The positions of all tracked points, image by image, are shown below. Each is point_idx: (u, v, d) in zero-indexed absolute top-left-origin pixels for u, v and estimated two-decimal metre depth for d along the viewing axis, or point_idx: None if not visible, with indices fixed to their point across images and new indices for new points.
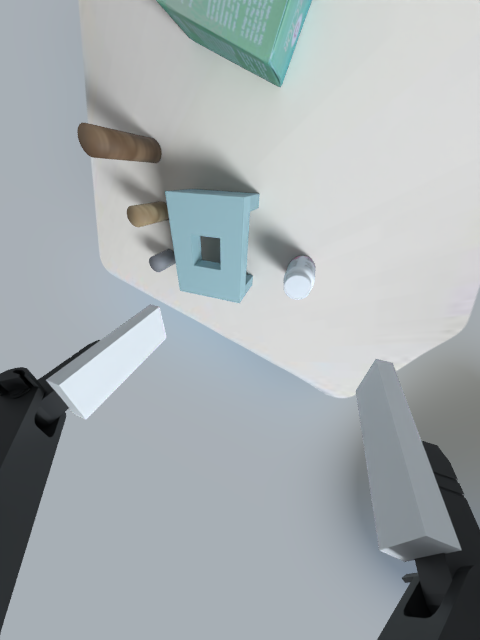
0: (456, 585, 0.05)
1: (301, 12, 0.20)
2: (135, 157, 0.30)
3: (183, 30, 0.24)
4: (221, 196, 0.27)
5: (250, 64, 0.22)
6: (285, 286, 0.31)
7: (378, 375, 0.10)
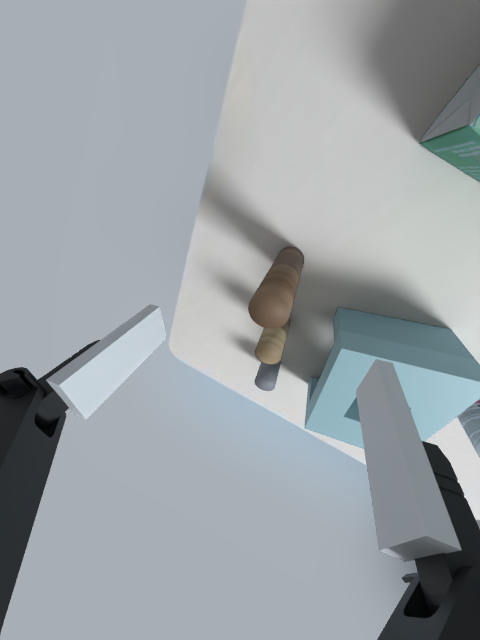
0: (456, 585, 0.05)
1: None
2: None
3: (433, 143, 0.14)
4: (448, 374, 0.18)
5: None
6: None
7: (378, 375, 0.10)
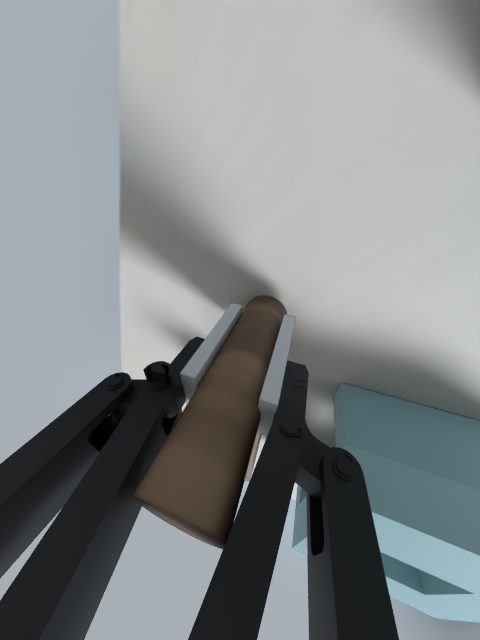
0: (269, 433, 0.07)
1: None
2: None
3: None
4: None
5: None
6: None
7: (281, 324, 0.12)
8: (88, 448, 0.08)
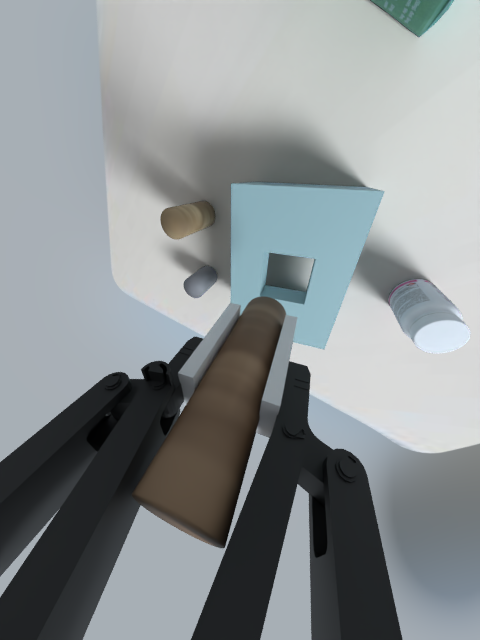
0: (271, 434, 0.07)
1: None
2: None
3: None
4: (337, 190, 0.16)
5: None
6: (418, 334, 0.19)
7: (283, 325, 0.12)
8: (86, 448, 0.08)
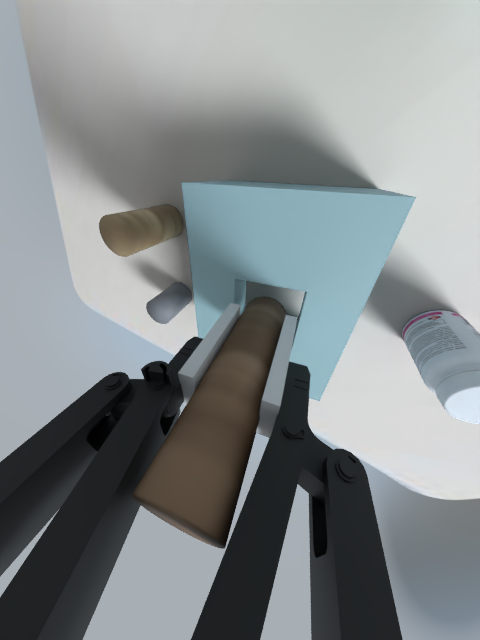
0: (271, 434, 0.07)
1: None
2: None
3: None
4: (338, 194, 0.10)
5: None
6: (452, 399, 0.13)
7: (283, 325, 0.12)
8: (86, 448, 0.08)
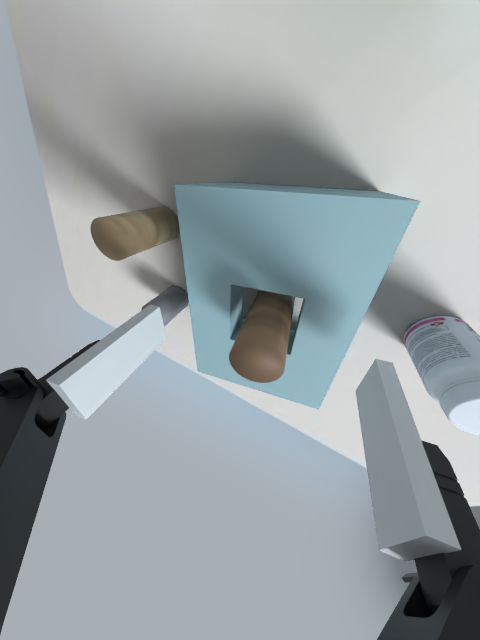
0: (456, 585, 0.05)
1: None
2: None
3: None
4: (338, 198, 0.09)
5: None
6: (457, 410, 0.13)
7: (378, 375, 0.10)
8: None
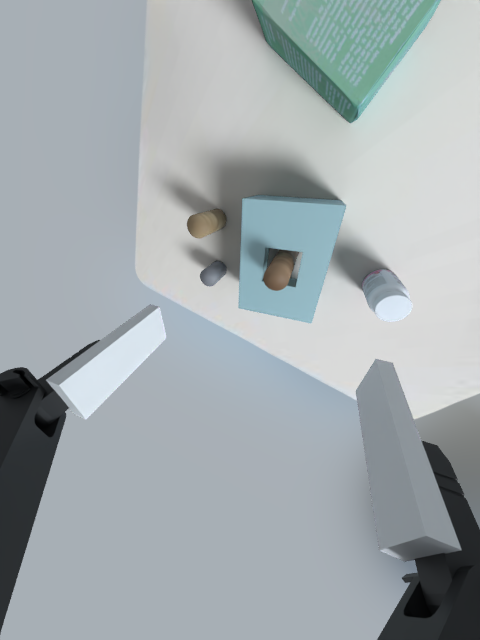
0: (456, 585, 0.05)
1: (399, 61, 0.19)
2: None
3: (264, 33, 0.21)
4: (315, 204, 0.23)
5: (332, 96, 0.21)
6: (377, 307, 0.26)
7: (378, 375, 0.10)
8: None
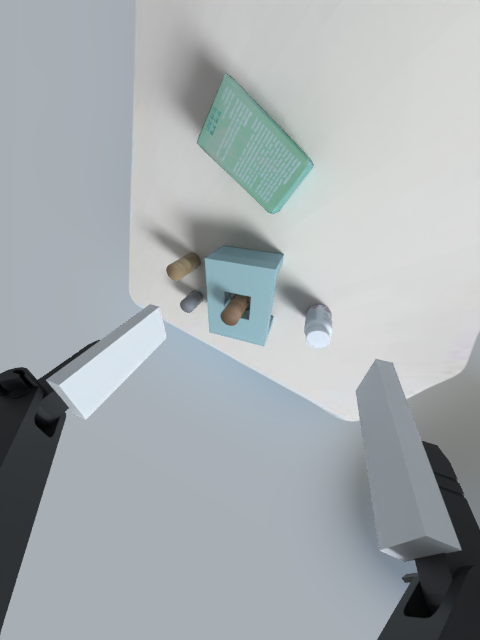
0: (457, 585, 0.05)
1: (299, 184, 0.28)
2: None
3: None
4: (255, 266, 0.32)
5: None
6: (307, 337, 0.35)
7: (378, 375, 0.10)
8: None
